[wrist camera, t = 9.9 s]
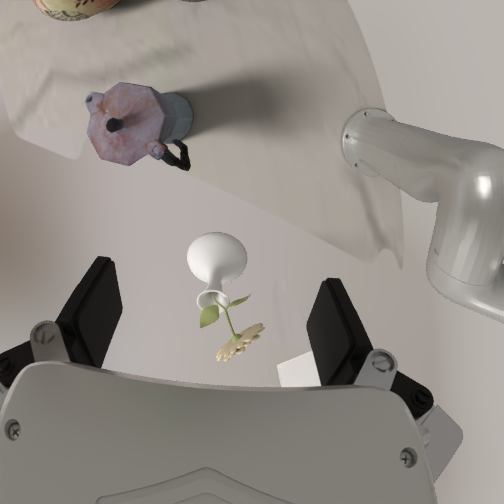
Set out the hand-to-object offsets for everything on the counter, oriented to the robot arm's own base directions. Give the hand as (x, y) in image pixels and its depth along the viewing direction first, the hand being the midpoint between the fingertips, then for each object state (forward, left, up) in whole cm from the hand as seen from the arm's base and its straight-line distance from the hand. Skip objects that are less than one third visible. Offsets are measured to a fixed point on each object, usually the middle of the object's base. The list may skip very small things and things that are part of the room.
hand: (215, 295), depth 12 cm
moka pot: (+10, -5, -36) cm, 38 cm away
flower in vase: (0, +20, -36) cm, 41 cm away
